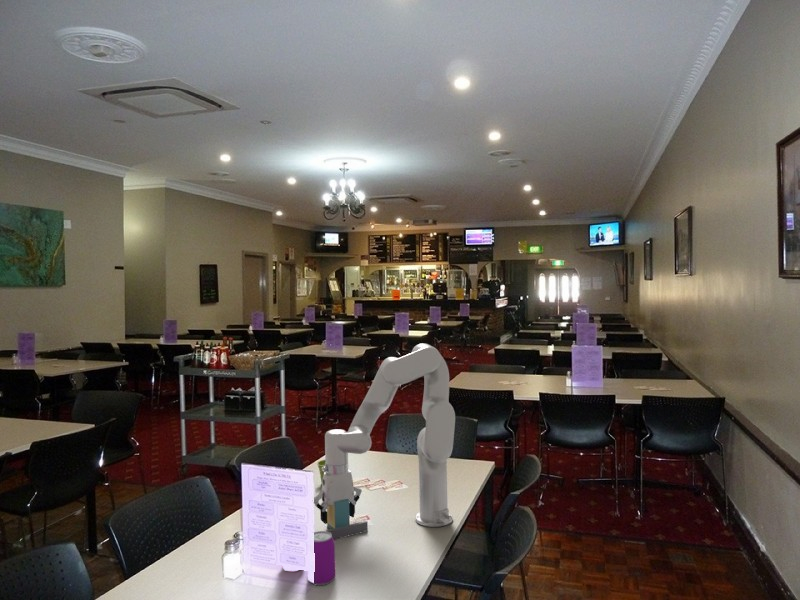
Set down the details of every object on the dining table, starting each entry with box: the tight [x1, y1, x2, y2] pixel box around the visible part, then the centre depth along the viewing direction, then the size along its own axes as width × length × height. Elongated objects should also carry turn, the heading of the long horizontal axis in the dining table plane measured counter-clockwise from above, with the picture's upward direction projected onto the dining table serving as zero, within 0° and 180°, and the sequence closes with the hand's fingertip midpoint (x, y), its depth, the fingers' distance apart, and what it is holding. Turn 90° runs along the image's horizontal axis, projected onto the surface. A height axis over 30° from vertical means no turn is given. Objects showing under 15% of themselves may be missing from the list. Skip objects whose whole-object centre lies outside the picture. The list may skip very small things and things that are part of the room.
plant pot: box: [316, 459, 325, 484], centre depth 235 cm, size 9×9×9 cm
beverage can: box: [313, 530, 336, 586], centre depth 157 cm, size 8×8×12 cm
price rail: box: [325, 520, 369, 541], centre depth 186 cm, size 4×14×3 cm, turn 120°
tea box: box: [326, 499, 351, 530], centre depth 191 cm, size 5×7×10 cm
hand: (338, 519), depth 191 cm, fingers open, 9 cm apart
